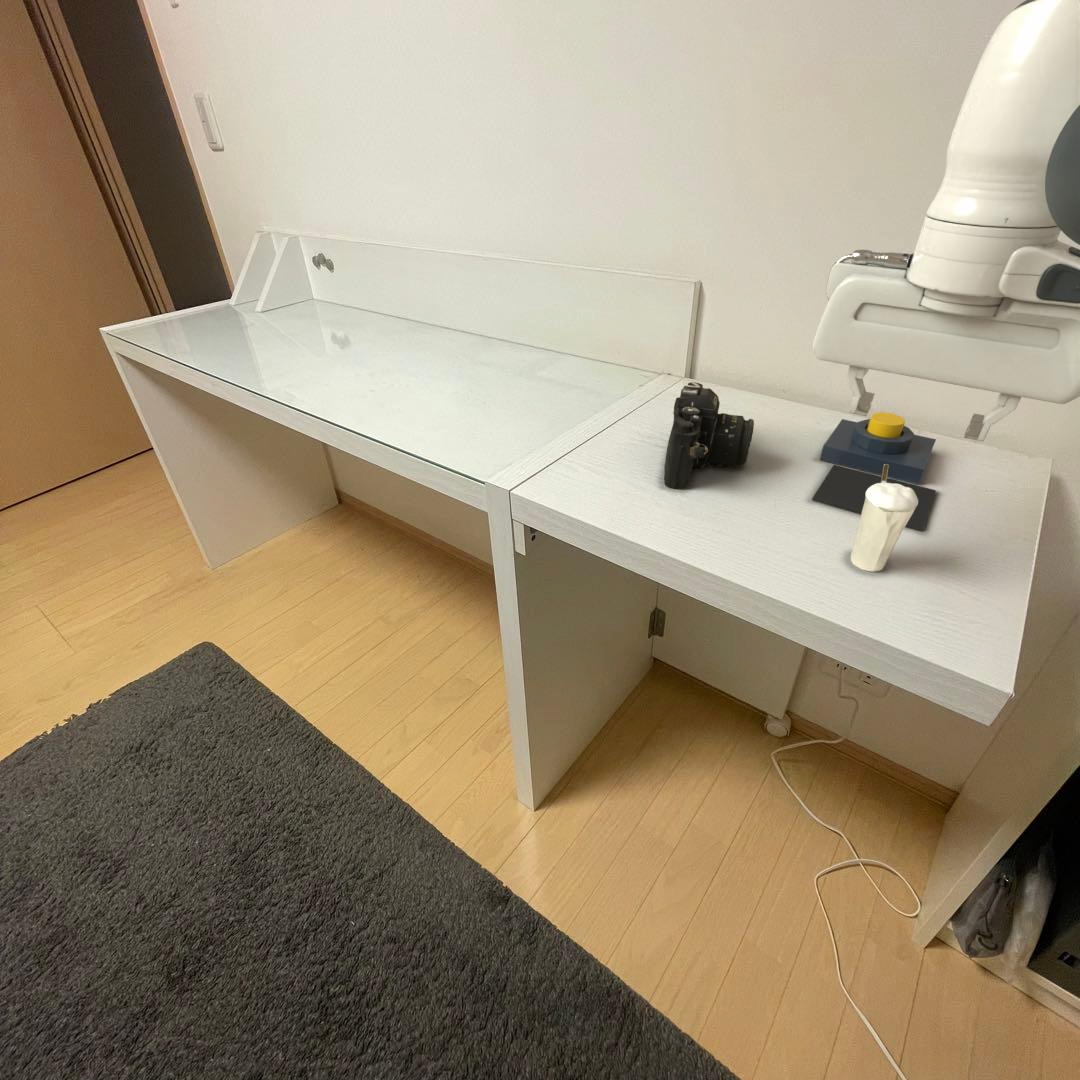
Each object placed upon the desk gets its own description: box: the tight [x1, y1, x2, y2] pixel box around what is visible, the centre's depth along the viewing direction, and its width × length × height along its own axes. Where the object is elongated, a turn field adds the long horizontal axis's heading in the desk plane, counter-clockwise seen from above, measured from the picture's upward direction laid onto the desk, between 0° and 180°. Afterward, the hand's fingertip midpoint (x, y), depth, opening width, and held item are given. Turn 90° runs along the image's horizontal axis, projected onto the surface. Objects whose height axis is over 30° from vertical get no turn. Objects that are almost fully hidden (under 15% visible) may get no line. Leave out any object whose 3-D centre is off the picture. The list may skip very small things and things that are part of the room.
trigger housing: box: [819, 418, 937, 486], centre depth 82 cm, size 12×10×4 cm
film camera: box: [663, 381, 755, 490], centre depth 80 cm, size 18×12×10 cm
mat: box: [811, 464, 937, 532], centre depth 74 cm, size 12×10×1 cm
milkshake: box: [850, 464, 918, 573], centre depth 61 cm, size 4×5×10 cm
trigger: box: [867, 411, 906, 438], centre depth 80 cm, size 4×4×2 cm
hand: (914, 424), depth 55 cm, fingers open, 8 cm apart
